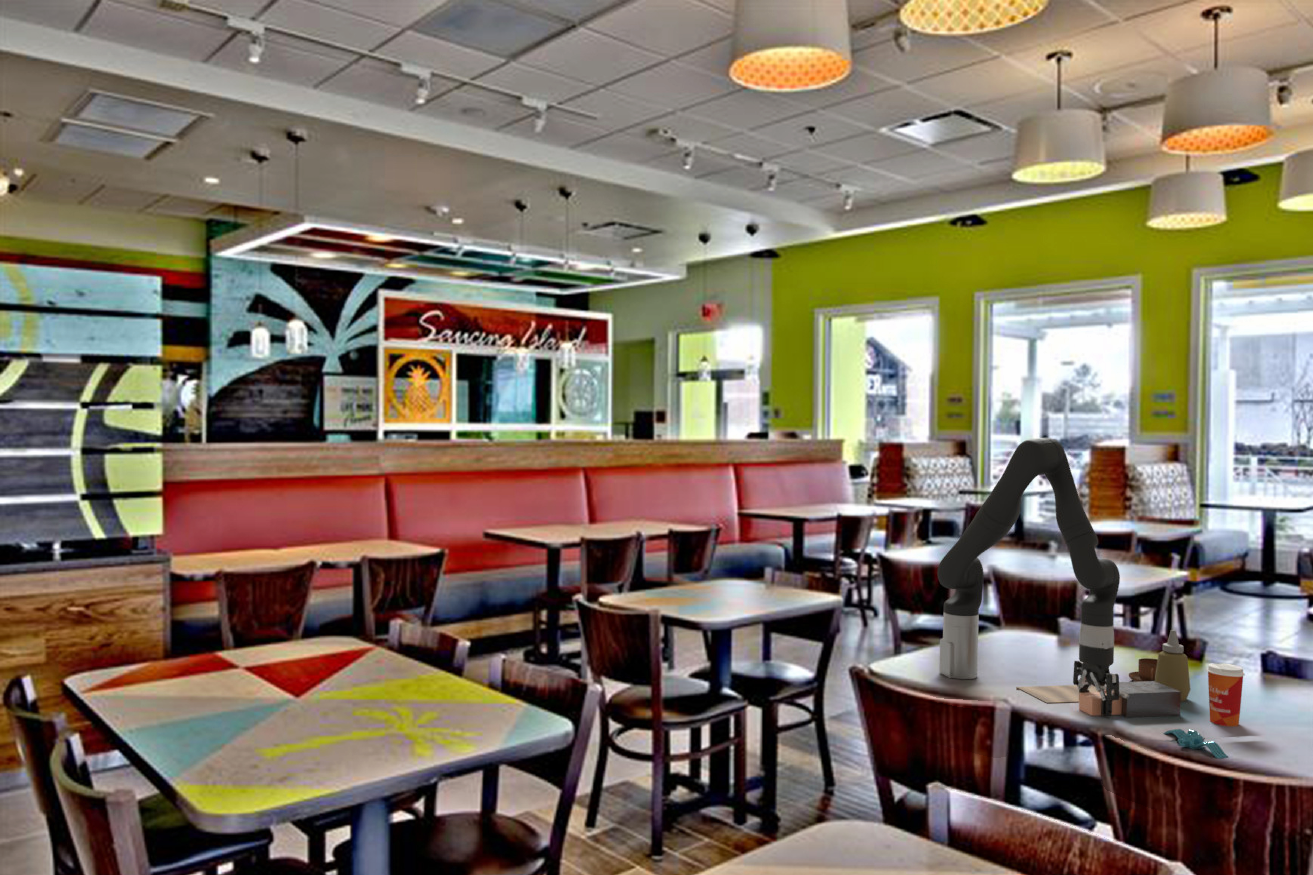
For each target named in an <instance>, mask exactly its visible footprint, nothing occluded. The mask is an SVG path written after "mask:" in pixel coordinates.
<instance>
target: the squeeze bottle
mask: <svg viewBox="0 0 1313 875" xmlns="http://www.w3.org/2000/svg"><path fill="white" fill-rule="evenodd" d="M1169 631H1170V632H1169V636H1168V639H1167V642H1165V643H1162V651H1160V652H1159V653H1157V654H1158V655H1157V659H1158V660H1157V668H1156V675H1155V682H1157V683H1160V684H1162V685H1165V686H1167V687H1170V688H1173V689H1175V690H1178V691H1180V692H1181V700H1180V702H1185V701H1187V699H1188V697H1189V694H1190V692H1191V683H1190V680H1191V679H1190V672H1189V671H1190V670H1189V659H1188V656H1187V655H1186V654H1185V653H1184V645H1182V644H1179V643H1180V642H1179V639H1178V634H1177V630H1175V629H1171V630H1169Z"/></svg>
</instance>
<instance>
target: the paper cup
mask: <svg viewBox="0 0 1313 875" xmlns="http://www.w3.org/2000/svg"><path fill="white" fill-rule="evenodd" d="M1205 671H1207V684H1208V708H1209V709H1208V710H1209V721H1210V722H1211V723H1212V724H1216V725H1219V726H1222V727H1238V726H1239V725H1240V716H1241V705H1242V694H1243V682H1244V676H1245V675H1246V674H1245V672H1244V669H1243V667H1241V666H1238V665H1236V664H1231V663H1230V664H1229V663H1223V662H1221V663H1218V662H1217V663H1216V662H1215V663H1212V662H1211V663H1209V664H1208V667H1207V668H1206V670H1205Z"/></svg>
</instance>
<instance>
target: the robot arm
mask: <svg viewBox="0 0 1313 875" xmlns="http://www.w3.org/2000/svg"><path fill="white" fill-rule="evenodd" d="M1038 476H1045V477H1046V479H1047V480H1048V482H1049V484H1050V485H1051V488H1052V490H1053V495H1054V501H1055V503H1054V504H1055V518H1056V524H1057V526H1058V529H1059V531H1060V534H1061V536H1062V538H1063V540H1064V542H1065V544H1066V546H1067V548H1068V550H1069V557H1070V561H1071V566H1072V570H1073V573H1074V576H1075V578H1076V580H1077V582H1078V583H1079V584H1080V585H1081V586H1082V587H1083V588H1085V589H1086V590H1089V592H1088V596H1087V597H1086V598H1084V599H1083V601H1082V602H1081V607H1080V627H1079V632H1078V634H1079V635H1078V636H1079V641H1078V660H1074V662H1073V676H1072V677H1073V680H1072V684H1073V685H1077V687H1078V689H1079V693H1088V692H1089V690H1088V689H1089V688H1090V686H1091V685H1093V686H1095V687H1096V690H1097V691H1098V692H1100V695H1101V698H1102V700H1101V715H1100V716H1103V718H1104V717H1106V718H1107V717H1111V716H1112V715H1111V714H1112V701H1113V700H1119V682H1120V677H1119V676H1120V675H1119V674H1118V673H1111V671H1110V666H1112V665H1113V664H1114V662H1115V661H1114V658H1115V656H1114V654H1115V652H1114V651H1115V632H1114V606H1115V603H1116V600H1117V596H1118V591H1119V587H1120V582H1121V578H1120V577H1121V576H1120V570H1119V568H1118V566H1117V564H1116V563H1115V562H1114V561H1112V560H1111V559H1109V558H1104V557H1103V558H1098V555H1097V552H1096V547H1097V546H1098V545H1099V538H1098V536H1097V534H1096V532H1095V530H1094V527H1093V526H1092V524H1091V522H1090V520H1089V518H1088V515H1087V514H1086V511H1085V509H1084V506H1083V504H1082V502H1081V498H1080V496H1079V493H1078V489H1077V487H1076V483H1075V480H1074V476H1073V474H1072V470H1071V466H1070V464H1069V460H1068V457H1067V454H1066V451H1065V449H1064V447H1063V445H1062V444H1061V443H1060V442H1059V441H1058V440H1057V439H1055V438H1052V437H1039V438H1038V437H1037V438H1029V439H1026V440H1024V441H1022V442H1021V443H1019V445H1018V446H1017V447H1016V448H1015V450H1014V452H1013V454H1012V456H1011V457H1010V459H1009V462H1008V464H1007V465H1006V468H1005V469H1004V471H1003V473H1002V474H1001V477H1000V478H999V480H998V481H997V483H996V485H995V486H994V487H993V489H992V490H991V492H990V494H988V497H987V498H986V499H985V500H984V502H983V503H982V505H981V506H980V508H979V509H978V511H977V512H976V513H975V516H974V518H973V519H972V520H971V522H970V524H968V526H967V528H965V530H964V532H963V533H962V535H961V536H960V537H959V539H958V540H957V541H956V542H955V543H954V544H953V546H952V547H950V549H949V551H948V552H947V553H946V554H945V555H944V556H943V558H941V561H940V563H939V564H938V567H937V579H938V582H939V584H940V585H941V586H942V587H944V588H946V589H950V590H951V589H952V590H955V593H954V594H953V595H952V596H951V597H950V598H948V599H947V600H945V601H944V603H943V624H942V625H943V628H942V638H940V639H939V673H940V674H941V675H943V676H946V677H947V678H948V679H959V680H960V679H961V680H971V679H976V678H977V677H978V670H979V669H978V667H979V666H978V665H979V664H978V663H979V661H978V660H979V658H978V655H979V653H978V652H979V620H980V619H979V615H980V614H979V613H980V607H981V605H982V602H983V601H982V600H983V592H984V591H983V589H984V569H983V564H982V562H981V560H980V559H979V556H981V555H982V554H983V553H985V552H986V551H987V550H989V549H990V548H993V547H994V546H995V545H996V544H997V543H999V542H1000V541H1002V540H1003V539H1004V538H1005V537H1006V536H1007V535H1008V533H1010V531H1011V529H1012V528H1013V527H1014V525H1015V524H1016V522H1017V520H1018V519H1019V516H1020V514H1021V508H1022V499H1023V498H1022V497H1023V494H1024V493H1025V491H1026V489H1027V488H1028V487H1029V485H1030V484H1031V483H1032V482H1033V480H1034V479H1036V477H1038ZM1079 676H1080V677H1079ZM1105 684H1106V687H1103V686H1105ZM1112 690H1114V695H1113V693H1112ZM1104 691H1106V692H1107V695H1105V692H1104Z"/></svg>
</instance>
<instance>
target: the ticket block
mask: <svg viewBox="0 0 1313 875" xmlns="http://www.w3.org/2000/svg"><path fill="white" fill-rule="evenodd" d="M1105 695H1107V692H1105ZM1113 695H1114V693H1113ZM1101 700H1102V698H1101V695H1100V692H1088V693H1079V702H1078V709H1079V711H1081V712H1084V713H1086V714H1088V715H1090V716H1092V717H1093V716H1102V715H1101ZM1121 714H1122V697H1120V696H1119V700H1113V701H1112V714H1111V716H1118V715H1119V716H1122V715H1121Z"/></svg>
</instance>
